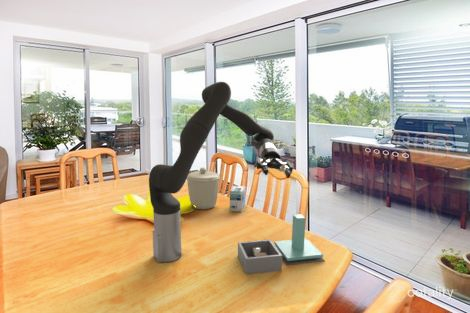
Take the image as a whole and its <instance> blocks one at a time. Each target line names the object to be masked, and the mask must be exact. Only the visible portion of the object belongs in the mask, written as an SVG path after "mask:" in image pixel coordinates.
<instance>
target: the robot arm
mask: <svg viewBox="0 0 470 313" xmlns="http://www.w3.org/2000/svg"><path fill="white" fill-rule="evenodd" d="M231 97H232V89H231V87H230V85H229V84H228V83H227V82H225V81H216V82H213V83H212V84H210V85H208V86H206V87H204V88H203V90H202V92H201V98H202V101H203V103H204V104H203V105H202V107H200V109H198V110H197V111H196V112H195V113H194V114H193V115H192V116H191V117H190V118H189V120H188V121H187V122H186V124H185V125H184V127H183V129H182V130H181V132H180V135H179V145H180V149H179V150H180V152H179V155H178V156H177V158H176V160H175V162H174V164H173V165H169V164H162V163H160V164H155V165H154V166H153V167H152V168H151V169H150V172H149V176H148V177H149V178H148V187H149V189H148V190H149V198H150V199H149V200H150V204H151V206H152V208H153V230H152V232H151V233H152V251H153V253H152V254H153V258H155V259H156V261H157V262H158V263H169V262H175V261H177V260H179V259H180V258H181V257H182V226H181V222H182V220H181V203H180V200H179V199H178V198H176V197H175V196H174V195H173V194H177V193H179V192H180V191H181V190H182V188H183V186H184V185H185V183H186V182H187V176H188V174H190V171H191V168H192V166H193V164H194V162H195V160H196V158H197V156H198V154H199V152H200V151H201V149H202V147H203V145H204V144H205V142H206V140H207V138H208V136H209V134H210V132H211V130H212V129H213V127H214V125H215V124H216V122H217V119H218V118H219V117H220V116H219V115H221V116H222V117H224V118H226V119H227V120H229V121H230V122H232V124H234V125H235V126H236V127H238V129H240V130H241V131H242V132H243V133H244V134H245V135H247V136H248V137H252V136H253V137H252V139H251V144H252V145H253V147H254V148H255V149H257V150H258V153H259V156H256V159H255V167H256V169H257V170H260V169H261V171H262V173H263V174H264V175H265V176H268V174H269V169H275V170H276V171H279V172H281V173H284V175H285V177H286V178H287V179H290V177H291V175H292V173H293V170H294V166H293V164H292V163H291V162H290V161H289V160H286V162H285V161H283V160H282V158H281V155H280V152H279V151H278V149H277V147H276V146H275V144H274V142H273V141H274V138H275V134H274V133H273V132H272V130H271V129H270V128H267V127H265V126H263V125H261V124H259V123H258V122H257V121H256V120H254V119H253V117H251V116H250V115H249V113H246V112H245V111H242V110H240V109H238V108H235V107H233V106H232V105H230V104H229V102H230V101H231Z"/></svg>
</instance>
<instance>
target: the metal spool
mask: <svg viewBox="0 0 470 313" xmlns="http://www.w3.org/2000/svg"><path fill="white" fill-rule="evenodd" d="M255 253H261V247H259V246H254V247H253V253H252V257H254V254H255Z"/></svg>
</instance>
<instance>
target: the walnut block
mask: <svg viewBox="0 0 470 313" xmlns="http://www.w3.org/2000/svg"><path fill="white" fill-rule="evenodd" d="M260 256H267V254H266V253H255V254H254V257H260Z"/></svg>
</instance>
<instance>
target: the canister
mask: <svg viewBox="0 0 470 313" xmlns="http://www.w3.org/2000/svg"><path fill="white" fill-rule="evenodd" d="M220 178H221V175H220V174H219V173H217V172H215V171H209V170H207V168H206V167H201V168H199V170H198V171H192V172H189V174H188V176H187V179H186V182H187V189H188V197H189V202H191V203H190V205H191V204H192V205H195V206H196V208H195V209H196V210H210V209H212V208H214V207H215V206H216V205H217V201H218V195H219V194H218V193H219V192H218V191H219V186H220V185H219V184H220ZM192 205H191V206H192Z"/></svg>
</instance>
